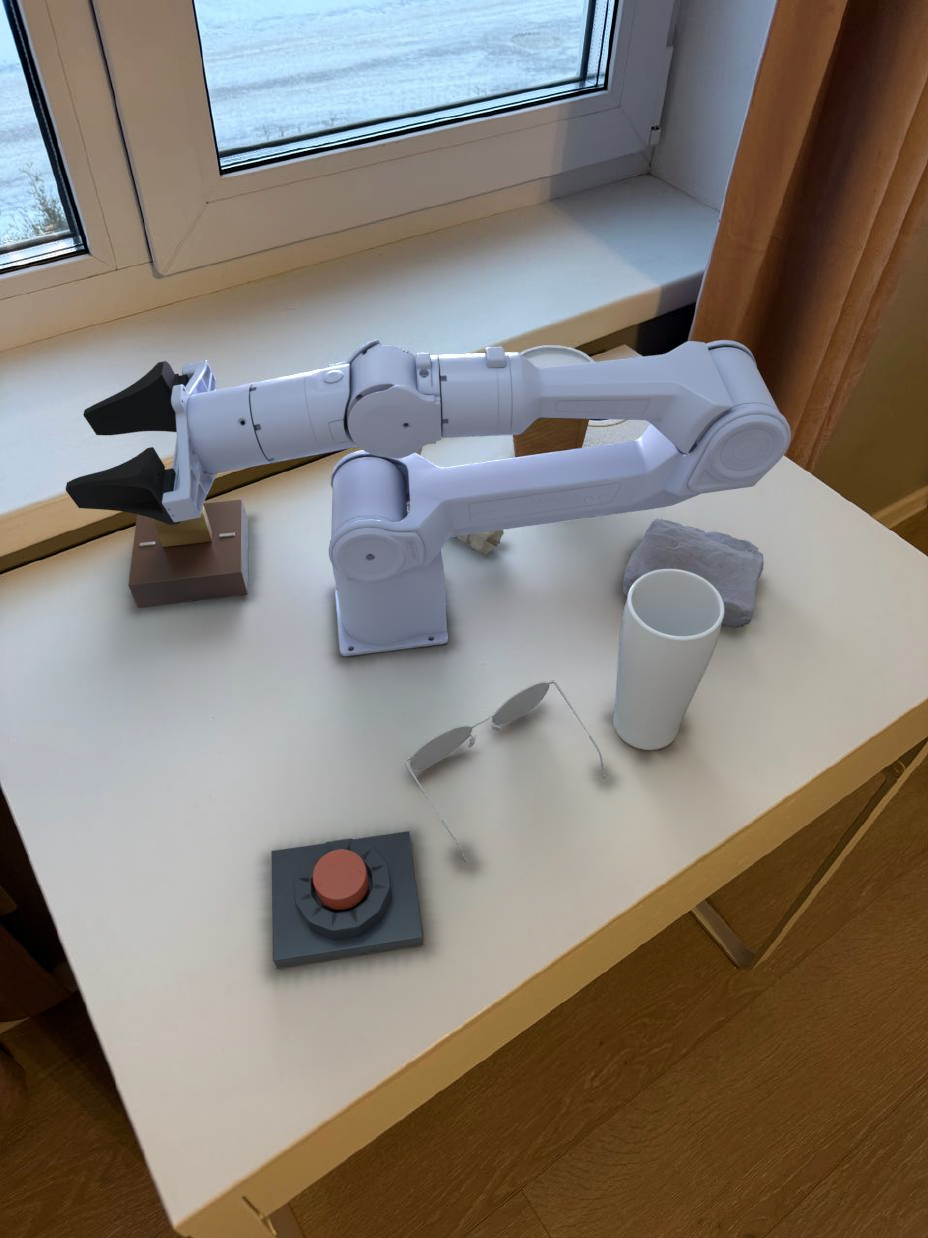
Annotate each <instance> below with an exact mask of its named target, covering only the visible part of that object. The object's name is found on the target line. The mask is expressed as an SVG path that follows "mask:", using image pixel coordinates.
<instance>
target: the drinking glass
mask: <svg viewBox="0 0 928 1238" xmlns="http://www.w3.org/2000/svg"><path fill="white" fill-rule="evenodd" d="M621 616H622V618H621V622H620V628H619V636H618V649H617V650H618V651H617V669H616V686H615V687H616V688H615V698H614V699H615V701H614V708H613V712H612V724H613V729H614V730H615V732H616V734H617V735H618V736H619V738H620V739H621V740H622V741H624V742H625V743H626V744H627V745H628V746H630V747H633V748H636V749H639V750H642V751H656V750H660V749H663V748H665V747H667V746H669V745H670V744H671V743H672V742H673V741H675V739H676V738H677V736H678V734H679V731H680V728H681V725H682V722H683V720H684V717H685V716H686V713H687V711H688V709H689V706H690V704H691V702H692V700H693V698H694V696H695V693H696V692H697V689H698V687H699V685H700V683H701V681H702V679H703V677H704V674H705V673H706V671H707V669H708V667H709V664H710V661H711V660H712V657H713V654H714V652H715V649H716V647H717V643H718V641H719V640H718V639H719V637H720V633H721V629H722V626H723V625H722V621H723V617H724V603H723V600H722V597H721V595H720V594H719V592H718V591H717V589H716V588H715V587H714V586H713V585H712V584H711V583H709V582H708V581H707V580H705V579H704V578H702V577H700V576H698V575H696V574H694V573H691V572H688V571H684V570H679V569H660V570H655V571H652V572H649V573H647V574H644V575H643V576H641V577H640V578H638V579H637V580H636V581H635V582H634V583H633V585H632V586H631V588H630V590H629V592H628V596H627V597H626V600H625V604H624V608H623V612H622V615H621Z"/></svg>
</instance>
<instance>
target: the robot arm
mask: <svg viewBox="0 0 928 1238" xmlns="http://www.w3.org/2000/svg"><path fill="white" fill-rule="evenodd" d="M505 351H506V350H505V348H504V347H503V346H488V347H486V348H485V350H484V353H457V354H438V355H437V354H432V355H431V352H417V353H416V354H414V353H412V352H411V351H410V350H407V351H406V350H405V349H403V348H402V347H401V346H397V345H396V346H395V345H386V344H385V345H382V343H381V342H380V340H379V339H374V340H370V341H368V342H366V343H364V344H362V345H361V346H358V347H357V349H355V350H354V351H353V353H352V354H351V355H350V356H349V357H348V358H347V359H345V360H344V361H341V362H337V363H331V364H328V365H327V367H325V368H320V369H315V370H310V371H304V372H298V373H294V374H290V375H285V376H279V377H274V378H267V379H264V380H258V381H253V382H249V383H243V384H240V385H235V386H234V385H233V386H229V387H224V388H219V389H217V379H216V377H215V374H214V372H213V370H212V368H211V366H210V364H209V362H208V360H207V359H205V360H199V361H195V362H190V363H185V364H182V367H181V375H180V374H179V373H175V371H174V369H173V368H172V366H171V364H170V363H169V362H168V361H167V360H164V361H159V362H157V363H155V365H154V366H153V367H152V368H151V369H150V370H149V371H148V372H147V373H146V374H145V375H143V376H142V377H141V378H139V379H138V380H137V381H135V382H133V384H131V385H129V386H127V387H126V388H124V389H123V390H120V391H119V392H117V393H115V394H113V395H111V396H110V397H107V398H105V399H103V400H101V401H98V402H96V403H95V404H93V405H90V406H89V407H86V408H85V409H84V410H83V417H84V419H85V420H86V422H87V424H88V425H89V426H90V428H91V429H92V430H93V432H94V434H95V435H96V436H117V435H118V436H119V435H125V434H133V433H140V432H166V433H167V432H169V433H176V440H175V445H174V453H173V459H172V465H171V468H166V466H165V464H164V462H163V461H162V459H161V457H160V456H159V454H158V452H157V451H156V449H155V448H154V446H150V447H146V448H145V449H144V450H142V452H140V453H138V454H137V455H136V456H134V457H132V458H130V459H128V460H127V461H125V462H123V463H120V464H118V465H116V466H113V467H110V468H107V469H105V470H101V471H97V472H96V471H95V472H93V473H89V474H85V475H81V476H78V477H75V478H73V479H71V480H69V481H67V482H66V485H65V492H66V493H67V494H68V495H69V497H70V498H71V499H72V501H73V502H74V504H75V505H76V506H77V508H78V509H86V510H87V509H88V510H100V511H101V510H103V511H113V512H123V513H129V514H134V515H137V514H138V515H142V516H146V517H149V518H152V519H155V520H158V521H161V522H164V523H166V524H169V525H175V524H179V523H180V522H181V521H184V520H190V519H195V518H200V517H201V512H202V507H203V504H204V503H205V501H206V499H207V497H208V494H209V493H210V490H211V489H212V486H213V484H214V482H215V480H216V478H217V475H218V474H220V473H227V472H231V471H238V470H242V469H247V468H252V467H253V468H254V467H258V466H265V465H269V464H274V463H279V462H285V461H290V460H295V459H300V458H306V457H311V456H317V455H321V454H328V453H333V452H338V451H343V450H348V449H354V448H360V449H361V450H356V451H354V452H351V453H348V454H346V455H345V456H344V457H342V458H340V460H339V461H337V463H336V464H335V465H334V467H333V469H332V471H331V475H330V485H331V492H332V493H331V499H332V500H331V525H330V526H331V528H330V529H331V530H330V540H329V545H328V558H329V561H330V563H331V566H332V572H333V577H334V583H335V590H334V599H335V609H336V610H335V612H336V623H337V635H338V645H339V646H338V648H339V653H340V655H341V656H342V657H352V656H360V655H367V654H375V653H382V652H383V653H384V652H392V651H399V650H406V649H415V648H422V647H430V646H439V645H444V644H447V643H448V642H449V634H448V622H447V621H448V620H447V619H448V617H447V604H448V594H447V587H446V578H445V569H444V560H443V554H442V549H443V548H444V546H445V545H446V543H447V542H448V541H449V540H450V539H451V538H453V537H456V536H461V535H468V534H476V533H483V532H490V531H497V530H503V531H504V530H510V529H511V530H512V529H518V528H524V527H532V526H533V527H534V526H540V525H547V524H553V523H561V522H562V523H563V522H569V521H575V520H583V519H590V518H597V517H598V518H599V517H603V516H612V515H618V514H627V513H632V512H640V511H641V512H642V511H647V510H655V509H661V508H667V507H671V506H674V505H677V504H680V503H683V502H685V501H687V500H689V499H692V498H695V497H698V496H700V495H703V494H709V493H716V492H723V491H731V490H737V489H738V490H739V489H745V488H752V487H754V486H756V484H757V483H758V482H759V481H760V480H761V479H762V478H764V477H765V476H766V475H767V474H768V473H769V472H770V471H771V470H772V468H774V467H775V466H776V465H777V464H778V463H779V462H780V461H781V460H782V458H783V457H784V455H786V453H787V451H788V449H789V446H790V443H791V437H792V434H791V427H790V424H789V422H788V420H787V418H786V417H785V416H784V415H783V414H782V413H781V412H780V410H779V408H778V406H777V404H776V402H775V400H774V399H773V396H772V395H771V393H770V391H769V388H768V387H767V385H766V383H765V381H764V379H763V377H762V374H761V373H760V371H759V369H758V365H757V362H756V359H755V357H754V355H753V353H752V351H751V349H749V348H748V347H747V346H746V345H744V344H743V343H740V342H737V341H734V340H728V339H721V340H719V339H718V340H714V341H710V342H707V343H706V342H703V341H696V340H688V341H685V342H684V343H682V344H680V345H678V346H677V347H675V348H674V349H672V350H670V351H668V352H666V353H663V354H655V355H645V356H638V357H637V356H636V357H628V358H619V359H608V360H601V361H594V362H590V363H581V364H572V365H563V366H554V367H544V368H537V367H536V366H534V365H533V364H532V363H531V362H529V361H528V360H527V359H526V358H525V357H523V356H522V355H521V354H520V352H517V351H511V352H509V351H507V352H505ZM540 417H543V418H579V419H589V420H617V421H618V420H621V421H646V422H648V423H649V425H648V427H647V428H646V429H645V431H644V432H643V433H642V434H641V435H640V436H639V438H637V439H635V440H628V441H622V442H621V441H620V442H615V443H608V444H601V445H594V446H586V447H582V448H579V449H572V450H565V451H558V452H551V453H544V454H537V455H530V456H523V457H516V458H515V457H509V458H502V459H496V460H495V459H494V460H489V461H482V462H475V463H474V462H473V463H467V464H459V465H454V466H447V467H440V466H438V465H436V464H434V463H433V462H432V461H430V460H429V459H426V458H425V457H423V456H421V455H418V454H416V453H415V452H417V451H418V450H419V449H421V448H422V447H425V446H426V445H427V446H428V445H434V444H437V442H438V441H439V442H440V441H441V440H442V439H450V438H451V439H453V438H477V437H497V436H501V437H502V436H513V435H519V434H521V433H522V432H524V431H525V430H526V429H527V428H528V427H529V426H530V425H531V424H532V423H533V422H534V421H535V420H536V419H538V418H540ZM422 449H423V448H422ZM408 503H409V511H408Z"/></svg>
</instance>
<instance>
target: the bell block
mask: <svg viewBox="0 0 928 1238" xmlns="http://www.w3.org/2000/svg"><path fill="white" fill-rule="evenodd" d="M341 849H343V850H349V851H352V852H354V853H356V854H358V855H359V856H360V857H361V858H362V860H363V861H364V863H365V866H366V870H367V875H368V881H369V884H368V890H367V892H366V894H365V896H364V898H363V899H362V900H361V901H360V902H359V903H358V904H357V905H355V906H353V907H351V908H349V909H345V910H335V909H331V908H329V907H327V906H325V905H324V904H323V903H322V902H321V901H320V900H319V898H318V896H317V893H316V890H315V887H314V883H313V871H314V868H315V866H316V864H317V862H318V861H319V860H320V859H321V858H322V857H323V856H324V855H326V854H327V853H329V852H331V851H334V850H341ZM270 855H271V856H270V857H271V859H270V860H271V920H272V922H271V924H272V962H273V963H274V966H275V968H276V969H281V968H288V967H294V966H301V965H306V964H312V963H319V962H320V963H321V962H326V961H332V960H338V959H344V958H351V957H352V958H353V957H358V956H363V955H369V954H376V953H377V954H378V953H383V952H388V951H395V950H401V949H408V948H414V947H420V946H424V945H425V943H424V935H423V928H422V920H421V911H420V904H419V895H418V888H417V880H416V873H415V872H416V871H415V865H414V857H413V856H414V855H413V849H412V841H411V833H410V831H409V830H407V831H406V830H405V831H399V832H393V833H385V834H379V835H373V836H372V835H371V836H365V837H358V838H352V837H351V838H342V839H336V840H329V841H326V842H324V843H317V844H311V845H304V846H297V847H291V848H283V849H276V850H271V853H270Z"/></svg>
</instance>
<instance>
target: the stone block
mask: <svg viewBox="0 0 928 1238" xmlns="http://www.w3.org/2000/svg"><path fill="white" fill-rule="evenodd" d="M640 541H641V542H640V543H639V545H638V546H637V547H636V549H635V550H634V551H633V552H632V554H631V556H630V558H629V560H628V561H627V564H626V566H625V569H624V574H623V583H622V584H623V586H622V590H623V591H622V593H623V595H624V596H625V597H626V598H627V596H628V592H629V590H630V588H631V586H632V585H633V583H634V582H635V581H636V580H637V579H638V578H640V577H641V576H643V575H644V574H647V573H649V572H652V571H655V570H660V569H679V570H684V571H688V572H691V573H694V574H696V575H698V576H700V577H702V578H704V579H705V580H707V581H708V582H709V583H711V584H712V585H713V586H714V587H715V588H716V589H717V591H718V592H719V594H720V595H721V597H722V600H723V603H724V617H723V621H722V625H721V626H724V627H728V628H743V627H745V626H747V625H749V624H750V623H751V622H752V620H753V617H754V615H753V614H754V609H755V601H756V600H755V595H756V589H757V583H758V581H759V579H760V578H761V576H762V573H763V571H764V565H765V563H764V554H763V553H762V552H761V551H759V548H758V546H757V545H755V544H753V542H751V541H749V540H747V539H740V538H736V537H733V536H732V535H730V534H728V533H724V532H718V531H715V530H714V531H713V530H712V531H711V530H708V531H705V530H704V529H700V528H697V527H693V526H690V525H683V524H681V523H679V522H676V521H672V520H668V519H663V518H656V519H653V520H652V521H651V522H650V524H649V526H648V527H647V529H646V531H645V533H644V535H643V538H642V540H640Z"/></svg>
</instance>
